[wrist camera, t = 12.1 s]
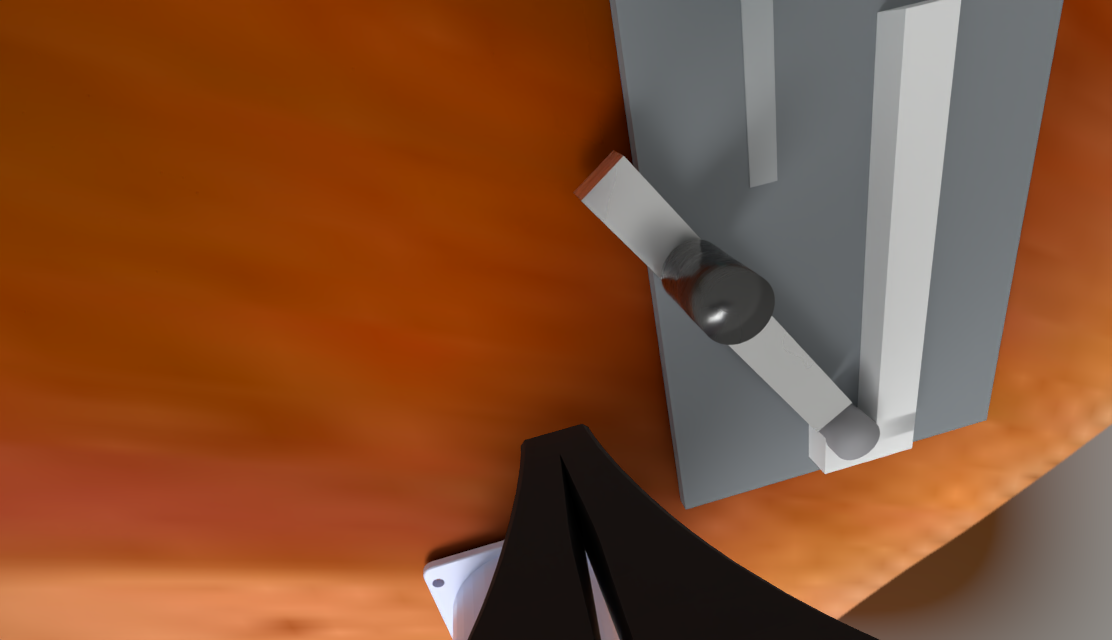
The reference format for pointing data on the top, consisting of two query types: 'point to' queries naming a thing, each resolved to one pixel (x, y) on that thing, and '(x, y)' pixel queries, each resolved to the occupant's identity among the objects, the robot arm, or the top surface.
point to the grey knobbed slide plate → (838, 209)
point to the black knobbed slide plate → (710, 287)
